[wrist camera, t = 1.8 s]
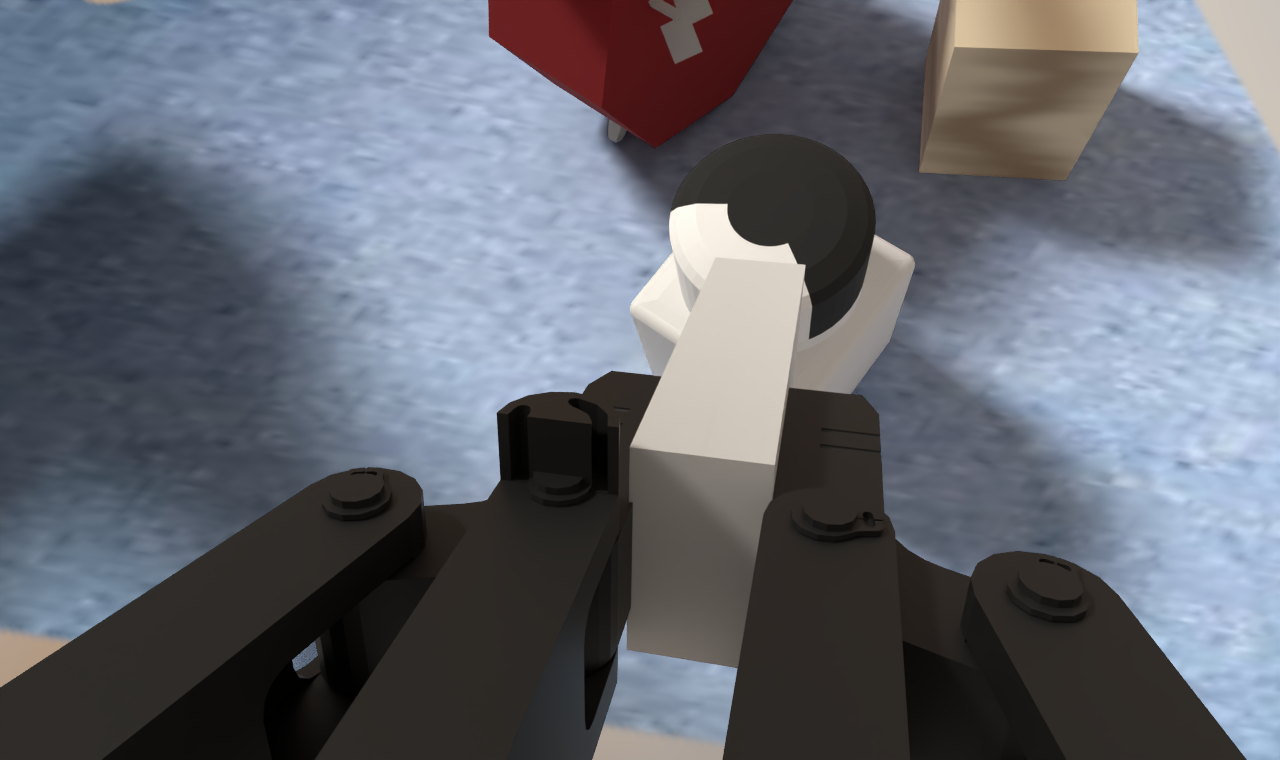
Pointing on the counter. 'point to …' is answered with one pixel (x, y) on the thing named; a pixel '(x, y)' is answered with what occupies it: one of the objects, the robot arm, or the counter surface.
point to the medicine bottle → (783, 253)
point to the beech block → (1021, 83)
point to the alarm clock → (639, 54)
